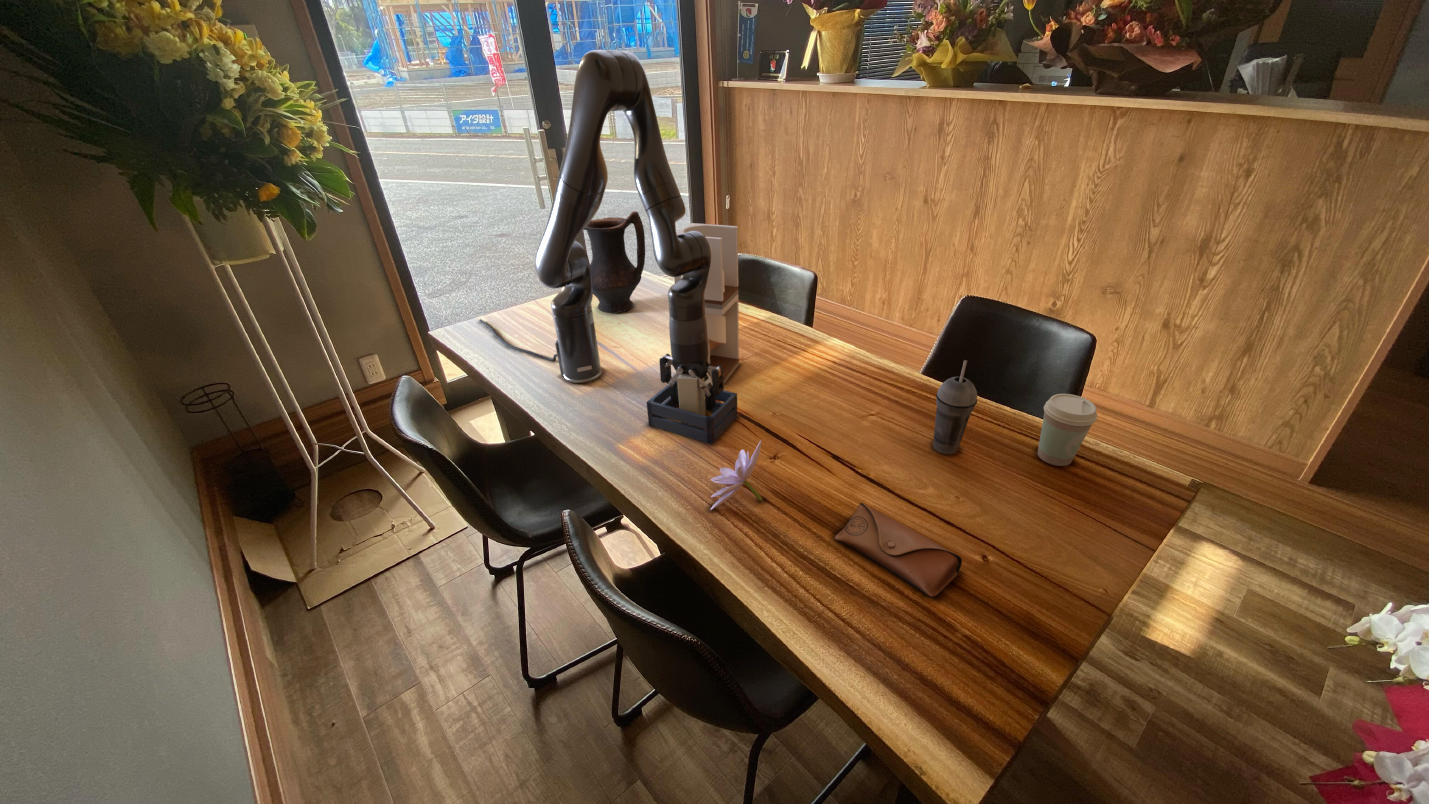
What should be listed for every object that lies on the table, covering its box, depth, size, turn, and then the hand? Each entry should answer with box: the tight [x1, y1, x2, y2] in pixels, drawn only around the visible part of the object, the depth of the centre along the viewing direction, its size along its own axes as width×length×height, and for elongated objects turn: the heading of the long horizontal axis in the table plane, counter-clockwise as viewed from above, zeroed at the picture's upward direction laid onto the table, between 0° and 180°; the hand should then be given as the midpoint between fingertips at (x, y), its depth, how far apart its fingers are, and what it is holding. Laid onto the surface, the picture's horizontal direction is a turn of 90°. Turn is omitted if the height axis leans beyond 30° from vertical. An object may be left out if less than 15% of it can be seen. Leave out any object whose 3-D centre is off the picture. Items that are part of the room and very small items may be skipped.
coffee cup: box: [1037, 393, 1098, 467], centre depth 107 cm, size 8×9×12 cm
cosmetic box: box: [677, 374, 707, 429], centre depth 121 cm, size 6×4×12 cm
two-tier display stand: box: [673, 222, 740, 384], centre depth 135 cm, size 11×11×35 cm
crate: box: [646, 384, 738, 445], centre depth 123 cm, size 16×12×6 cm
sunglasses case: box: [834, 502, 963, 598], centre depth 89 cm, size 18×7×7 cm
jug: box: [583, 211, 646, 314], centre depth 174 cm, size 21×18×30 cm
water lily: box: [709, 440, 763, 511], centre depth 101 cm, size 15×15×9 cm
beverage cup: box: [932, 359, 978, 455], centre depth 108 cm, size 7×7×20 cm
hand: (692, 404), depth 122 cm, fingers open, 8 cm apart
